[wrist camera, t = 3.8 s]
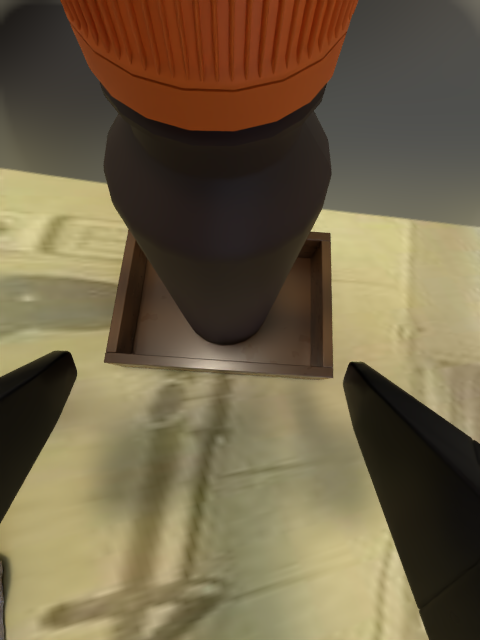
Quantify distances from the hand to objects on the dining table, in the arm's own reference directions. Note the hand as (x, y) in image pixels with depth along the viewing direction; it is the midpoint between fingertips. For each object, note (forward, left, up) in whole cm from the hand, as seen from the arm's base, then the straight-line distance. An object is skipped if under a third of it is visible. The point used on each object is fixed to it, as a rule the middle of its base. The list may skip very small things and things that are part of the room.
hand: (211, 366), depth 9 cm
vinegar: (+5, -2, -13) cm, 14 cm away
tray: (+5, -2, -13) cm, 14 cm away
